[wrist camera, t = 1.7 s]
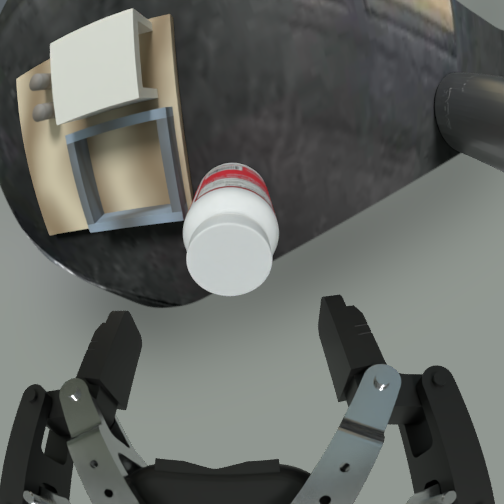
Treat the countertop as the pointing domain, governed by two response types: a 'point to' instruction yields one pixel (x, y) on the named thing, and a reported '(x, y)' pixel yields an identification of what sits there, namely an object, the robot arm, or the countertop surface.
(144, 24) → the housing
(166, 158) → the base board
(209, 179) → the pill bottle
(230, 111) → the countertop surface
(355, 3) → the countertop surface
